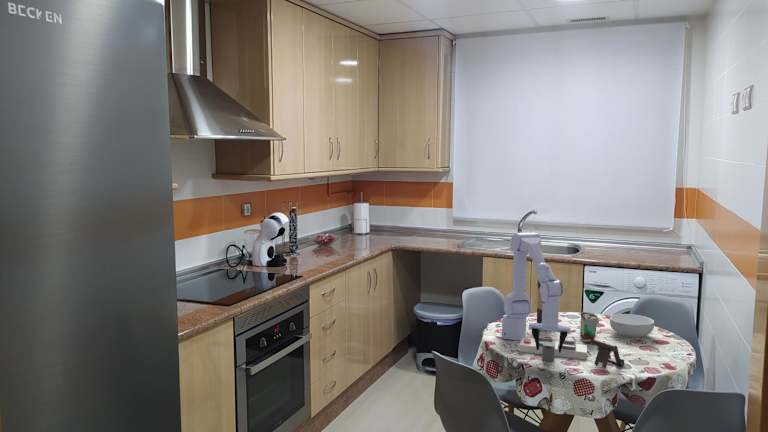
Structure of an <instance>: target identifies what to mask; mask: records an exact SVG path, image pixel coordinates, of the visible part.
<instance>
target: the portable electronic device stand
mask: <svg viewBox="0 0 768 432" xmlns="http://www.w3.org/2000/svg"><path fill="white" fill-rule="evenodd" d="M592 345H594V346H596V347H597V353H596V356H595V360H594V365H596V366H599V364H600V363H601V364H602V366H601V367H602V368H603V369H606V368H607V365H608V363H611V364H615V365H618V366H619V367H623V366H624V365H625V359H622V358H621V357H620V353H619V350H618V346H617V345H616V344H615V345H614V344H612V343H609V342H605V341H602V340H599V339H597V338H595V339H594V340H593V343H592ZM612 352H613V356H614V357H612V355H611V353H612Z"/></svg>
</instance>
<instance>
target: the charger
mask: <svg viewBox="0 0 768 432" xmlns="http://www.w3.org/2000/svg"><path fill="white" fill-rule="evenodd" d="M555 342H556V341H555ZM555 342H547V341H544V342H543V352H542V354H541V356H542V357H541V362H543V361H545V362H546V363H551V362H555ZM545 362H544V363H545Z"/></svg>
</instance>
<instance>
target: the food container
mask: <svg viewBox="0 0 768 432" xmlns="http://www.w3.org/2000/svg"><path fill="white" fill-rule="evenodd" d="M599 322H600V320H599V317H598V315H597V314H595V313H592V312H587V311H580V326H579V327H580V328H579V330H580V332H579V333H580V334H579V335H580V336H579V337H580V339H581V341H582V343H583V344H585V345H588V344H593V340H594V339H596V333H597V325H598V324H599Z"/></svg>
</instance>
